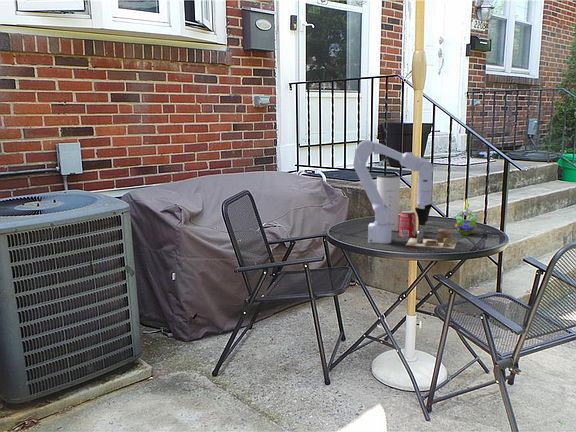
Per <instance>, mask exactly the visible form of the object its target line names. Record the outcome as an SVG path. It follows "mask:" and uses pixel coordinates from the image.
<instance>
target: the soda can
mask: <svg viewBox="0 0 576 432" xmlns="http://www.w3.org/2000/svg"><path fill="white" fill-rule="evenodd" d="M416 226H417V214H416V212H415V211H414V210H407V209H405V210H403V209H402V210H401V211H400V213H399V225H398V234H399V235H398V236H399V237H401V238H415V237H416V235H417V231H416V229H417V227H416Z"/></svg>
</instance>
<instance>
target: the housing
mask: <svg viewBox="0 0 576 432" xmlns="http://www.w3.org/2000/svg"><path fill="white" fill-rule="evenodd" d="M444 238H449V243H450V241H452V229H443V228H438V230H437V239H436V240H437V241H438V242H439V243H444Z"/></svg>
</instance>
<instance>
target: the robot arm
mask: <svg viewBox="0 0 576 432" xmlns="http://www.w3.org/2000/svg"><path fill="white" fill-rule="evenodd" d="M372 154H373V155H383V156H386V157H389V158H392V159H393V160H395V161H399V164H400V166H401V167H405V168H406V169H409V170H411V171H414V172H418V177H417V178H418V179H417V186H416V187H417V190H416V191H417V193H416V204H417V206H418V207H415V209H414V210H415V213H416V216H417V219H418V226H423V227H424V226H425V225H426V223H427V222H428V220H429V216H430V211H431V209H432V208H433V204H435V201H433V200H432V197H433V194H432V193H433V172H434V170H435V169H434V166H433V163H431V162H430V160H428V159H425V158H424V157H419V156H418V155H415V154H414V152H411V151H410V152H408V151H407V152H404V153H402V152H399V151H398V150H396V149H392V148H390V147H388V146H387V145H384V144H383V143H379V142H377V141H376V142H375V141H371V140H369V139H363V140H362V141H360V142H359V143H358V145H357V146H356V148H355V152H354V156H353V157H354V159H353V168H354V170H355V173H356V175H357V176H358V178H359V181H360V182H361V185H362V187H363V190H364V191H365V193H366V195H367V198H368V200H369V201H370V202H369V203H370V204H371V206H372V210H373V212H374V219H375V220H374V221H373V222H370V223H369V224H368V228H367V229H368V230H367V243H368V244H370V243H372V244H373V243H375V244H383V245H384V244H385V245H386V244H390V243H392V232H393V231H392V222H391V221H390V218H391V211H390V209H389V208H388V207H387V206H386V205H385V203H384V202H383V200H382V198H381V196H380V194H379V192H378V190H377V185H376V183H375V182H374V179H373V177H372V176H371V174H370V171H369V169H368V167H367V162H368V160H369V157H370V156H371V155H372Z"/></svg>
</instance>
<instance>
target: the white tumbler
mask: <svg viewBox="0 0 576 432" xmlns="http://www.w3.org/2000/svg"><path fill="white" fill-rule="evenodd" d="M400 179H401V177H400V176H398V175H378V176H376V188H377V190H378V192H379V194H380V196H381V198H382V200H383V202H384V203H385V205H386V206H387V207H388V208H389V209H390V211H391V218H390V221H391V222H392V232H399V217H400V211H399V210H400V187H401V186H400V184H401V180H400Z"/></svg>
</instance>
